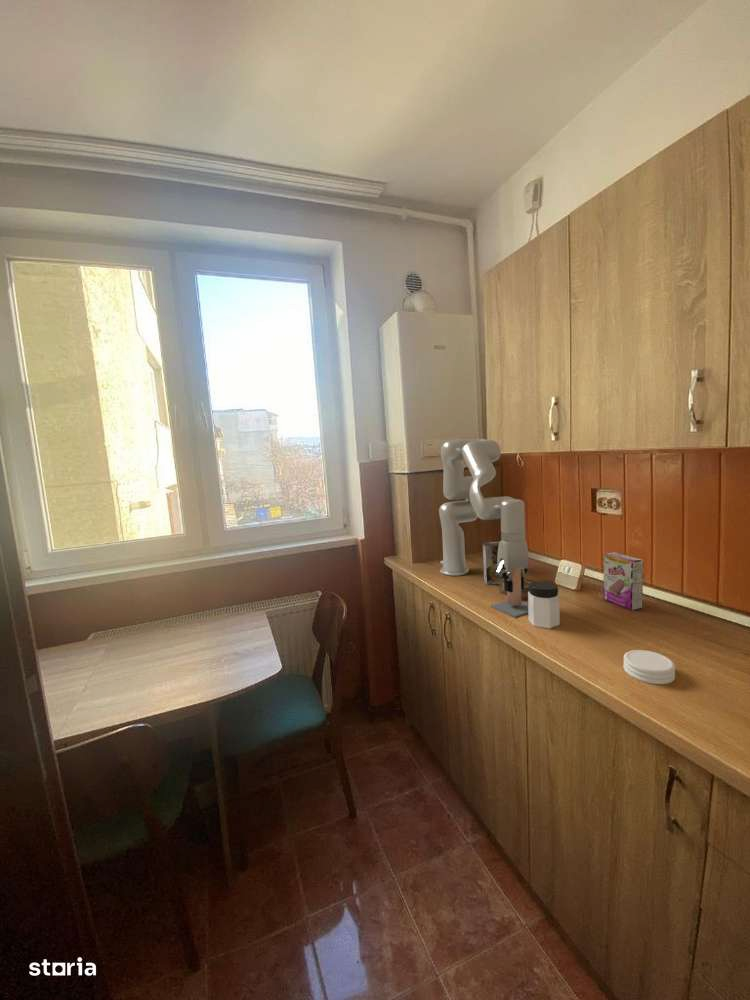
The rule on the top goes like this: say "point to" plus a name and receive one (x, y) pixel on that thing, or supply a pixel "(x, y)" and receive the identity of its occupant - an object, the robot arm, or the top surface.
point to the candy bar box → (623, 580)
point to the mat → (512, 608)
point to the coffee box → (491, 563)
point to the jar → (543, 604)
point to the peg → (515, 588)
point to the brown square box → (523, 591)
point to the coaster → (649, 667)
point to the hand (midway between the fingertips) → (514, 589)
